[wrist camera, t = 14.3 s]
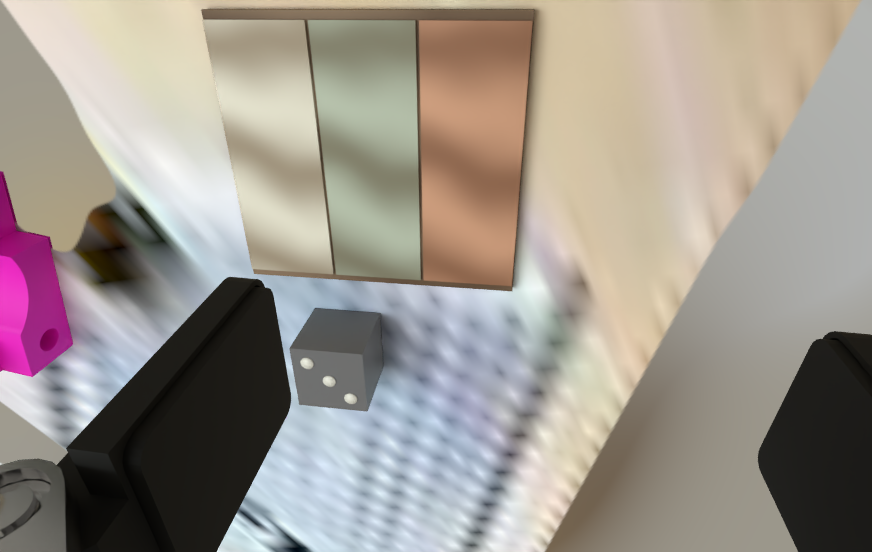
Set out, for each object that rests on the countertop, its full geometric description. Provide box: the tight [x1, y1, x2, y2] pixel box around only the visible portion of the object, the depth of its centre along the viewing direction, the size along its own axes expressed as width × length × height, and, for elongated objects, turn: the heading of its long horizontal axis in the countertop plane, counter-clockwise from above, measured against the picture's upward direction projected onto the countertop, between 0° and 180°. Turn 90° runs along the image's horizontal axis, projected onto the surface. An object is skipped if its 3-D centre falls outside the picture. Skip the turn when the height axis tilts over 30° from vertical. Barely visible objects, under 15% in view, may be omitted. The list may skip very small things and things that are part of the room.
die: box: [290, 308, 384, 411], centre depth 38 cm, size 5×5×5 cm
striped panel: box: [202, 9, 534, 291], centre depth 32 cm, size 17×18×1 cm
